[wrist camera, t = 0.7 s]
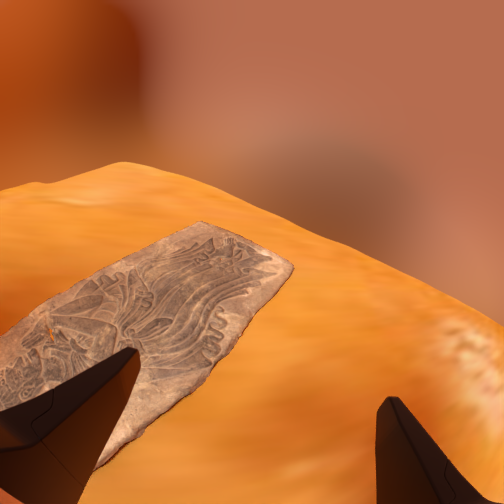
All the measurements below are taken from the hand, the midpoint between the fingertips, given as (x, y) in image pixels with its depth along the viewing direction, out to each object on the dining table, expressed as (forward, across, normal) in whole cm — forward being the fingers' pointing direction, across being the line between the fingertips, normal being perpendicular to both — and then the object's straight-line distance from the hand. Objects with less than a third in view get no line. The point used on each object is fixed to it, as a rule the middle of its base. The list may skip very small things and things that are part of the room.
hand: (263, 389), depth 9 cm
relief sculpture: (+16, +13, +13) cm, 24 cm away
